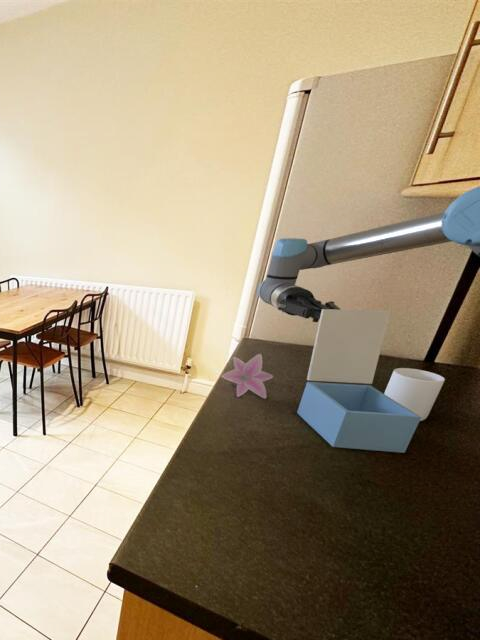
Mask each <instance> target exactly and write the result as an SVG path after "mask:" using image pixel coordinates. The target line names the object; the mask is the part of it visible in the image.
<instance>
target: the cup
mask: <svg viewBox="0 0 480 640" xmlns="http://www.w3.org/2000/svg"><path fill="white" fill-rule="evenodd" d="M445 381H446V378H445V377H443V376H442V375H440V374H437V373H434V372H431V371H427V370H423V369H417V368H410V367H399V368H394V369H393V371H392V374H391V376H390V379H389V381H388V383H387V385H386V388H385V390H384V392H383V394H385V395H386V396H388V397H390V398H391V399H393V400H394V401H396V402H398V403H399V404H401V405H403V406H404V407H406V408H407V409H409V410H411V411H412V412H414V413H415V414H417V415H419V416H420V417H421V419H420V421H419V422H423V421H425V420H426V419H428V417H429V415H430V412H431V410H432V409H433V406H434V404H435V402H436V400H437V398H438V395H439V394H440V391H441V389H442V387H443V385H444V383H445Z"/></svg>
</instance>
